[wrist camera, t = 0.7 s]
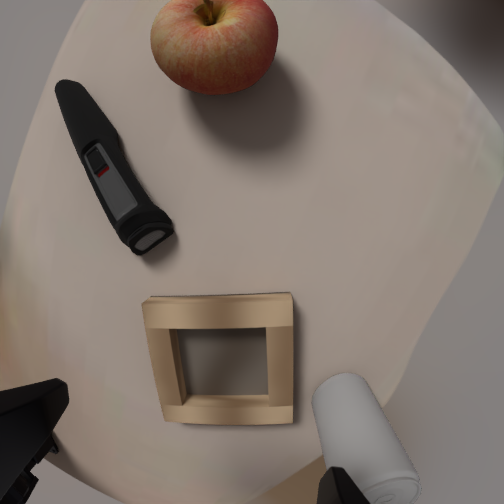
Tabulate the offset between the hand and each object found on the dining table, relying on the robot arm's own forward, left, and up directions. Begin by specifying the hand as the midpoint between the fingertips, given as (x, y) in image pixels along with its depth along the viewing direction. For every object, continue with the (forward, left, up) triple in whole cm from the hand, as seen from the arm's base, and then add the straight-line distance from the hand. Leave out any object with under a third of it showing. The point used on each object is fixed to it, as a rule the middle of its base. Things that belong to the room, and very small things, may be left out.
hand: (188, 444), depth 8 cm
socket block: (-1, -4, -14) cm, 14 cm away
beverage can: (+8, -8, -14) cm, 18 cm away
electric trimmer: (-9, +11, -14) cm, 20 cm away
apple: (0, +18, -14) cm, 23 cm away
